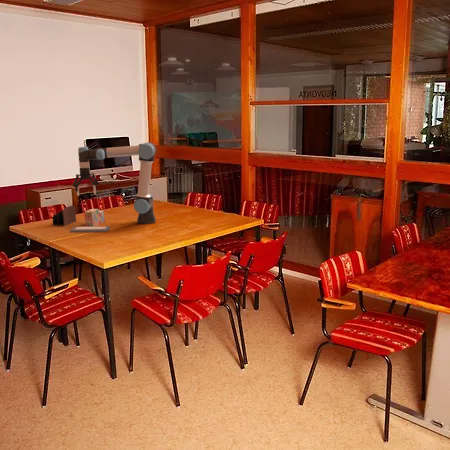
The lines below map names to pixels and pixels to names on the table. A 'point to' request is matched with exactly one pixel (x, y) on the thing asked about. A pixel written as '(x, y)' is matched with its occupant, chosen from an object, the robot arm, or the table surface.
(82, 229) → the base board
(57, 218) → the letter holder
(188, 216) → the table surface
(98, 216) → the stack of blocks
